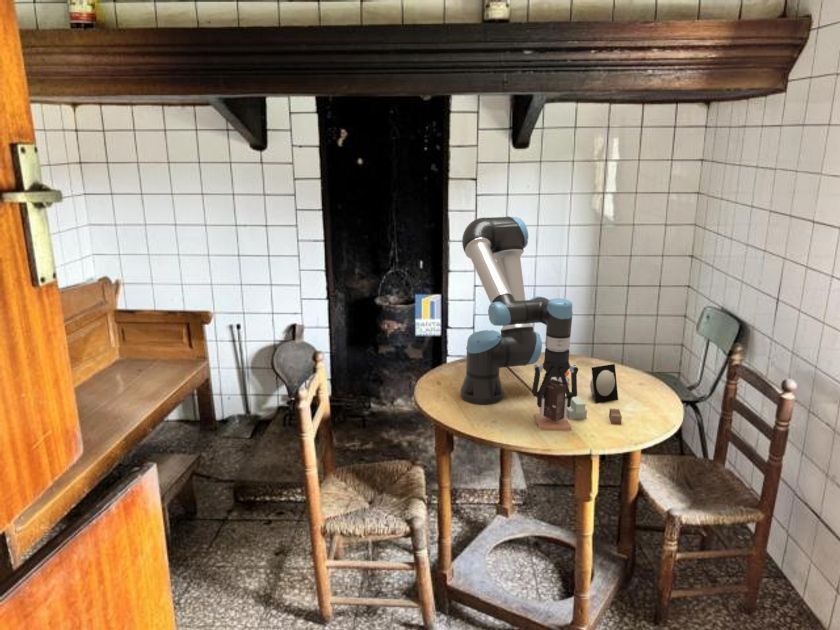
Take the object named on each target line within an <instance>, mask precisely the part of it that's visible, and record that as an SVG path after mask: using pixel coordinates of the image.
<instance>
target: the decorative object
mask: <svg viewBox="0 0 840 630" xmlns="http://www.w3.org/2000/svg"><path fill="white" fill-rule="evenodd" d="M591 374H592V375H591V376H592V378H591V380H590V385H589V388H590V392H591V394H592V396H594V397H593V398H594V404H595V405H597V404H601V403H603V404H604V403H608V402H614V401H618V400H619V393H618V383H617V382H618V381H617V372H616V363H612V364H606V365H605V364H604V365H598V366H593V367H591Z"/></svg>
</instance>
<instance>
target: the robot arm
mask: <svg viewBox="0 0 840 630" xmlns="http://www.w3.org/2000/svg"><path fill="white" fill-rule="evenodd" d="M461 243H462V249H463V252H464V253H465V256H466V257H467V258H468V259H470V260H471V262H472V265H473V267H474V269H475V271H476V273H477V276H478V277H479V280H480V282H481V284H482V286H483V289H484V291H485V294H486V295H487V298H488V300H489V302H490V304H489V305H488V308H487V314H488V320H489V322H490V323H491V325H493V326H499V327H501V326H502V327H501V329H500V331H497V330H494V329H493V330H491V329H490V330H489V329H485V330H479V331H476V332H474V333H471V334H470V335H469V336H468V338H467V343H466V367H465V369H466V373H465V377H464V380H463V383H462V386H461V388H460V397H461V398H462V400H464V401H466V402H468V403H470V404H477V405H492V404H497V403H500V402H501V401H502V400H503V398H504V389H503V386H502V382H501V379H500V369H501V368H511V367H512V368H513V367H526V366H528V365H530V366H531V365H533V368H534V377H533V383H532V389H531V394H532V396H533V397H536V399H537V400H536V401H537V402H536V405H537V407H538V408H539V414H540V416H541V418H543V416H544V400H545V399H544V397H543V395H544V392H545V390H546V388H547V385H548V383H549V381H550V380H551V378H552V377H561V380H562V383H563V384H566V392H565V407H564V418H567V408H570V404H571V399H572V397H578V383H577V382H578V380H577V375H578V371H579V368H578V366H577V365H575V364H574V365H571V364H570V363H569V362H570V347H571V333H572V322H573V315H574V314H573V302H572V301H571V300H569V299H565V298H559V297H558V298H556V297H555V298H551V299H549V298H547V297H544V296H539V295H538V296H537V295H536V296H534V297H532V298H531V299H526V294H525V286H524V285H525V284H524V278H523V276H524V275H523V271H522V270H523V269H522V262H521V256H522V254H523V253H524V252H525V251H524V249H525V248H526V247H527V246H528V243H529V232H528V227H527V225H526V223H525V222H524V220H523V219H522V218H520V217H517V216H510V215H509V216H498V217H497V216H496V217H495V216H494V217H493V216H492V217H479V218H476V219H474V220H472V221H470V223H469V224H468V225H467V226H466V227H465V230H464V231H463V234H462V240H461ZM539 323H540V324H541V323H542V324H543V325H545V326H546V328H545V329H546V330H545V332H546V333H545V344H544V346H545V348H544V359H543V360H544V361H543V363H542V364H538V365H537V364H536V363H537V362H538V361H539V359H540V357H541V355H542V350H543V349H542V348H543V346H542V345H543V341H542V338H541V336H540V333H538V332H537V331H536V330H535V331H534V326H533V325H532V324H539ZM543 370H544V371H545V373H546V374H545V373H544V374H545V377H544V376H543V377H544V379H543V380H542V382H541V385H540V386H539V384H540V379H541V378H540V377H541V373H542V372H543ZM567 371H570V372H569V373H570V381H571V382H570V383H571V384H570V385H571V391H570V387H569V383H568V384H567V381H566V377H567V376H566V377H565V373H566V372H567Z"/></svg>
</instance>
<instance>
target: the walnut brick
mask: <svg viewBox="0 0 840 630" xmlns="http://www.w3.org/2000/svg"><path fill="white" fill-rule="evenodd" d="M608 411H609V412H608V417H609V420H610V423H611V425H622V418H623V417H622V414H621V410H620V408H609V410H608Z"/></svg>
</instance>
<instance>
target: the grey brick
mask: <svg viewBox="0 0 840 630" xmlns="http://www.w3.org/2000/svg"><path fill="white" fill-rule="evenodd" d="M587 416H588V410H587V409H586V408H585V413H575V411H574V410H573V409H572V408H571V407H567V416H566V418H567V420H578V419H579V420H580V419H581V420H582V419H587Z"/></svg>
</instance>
